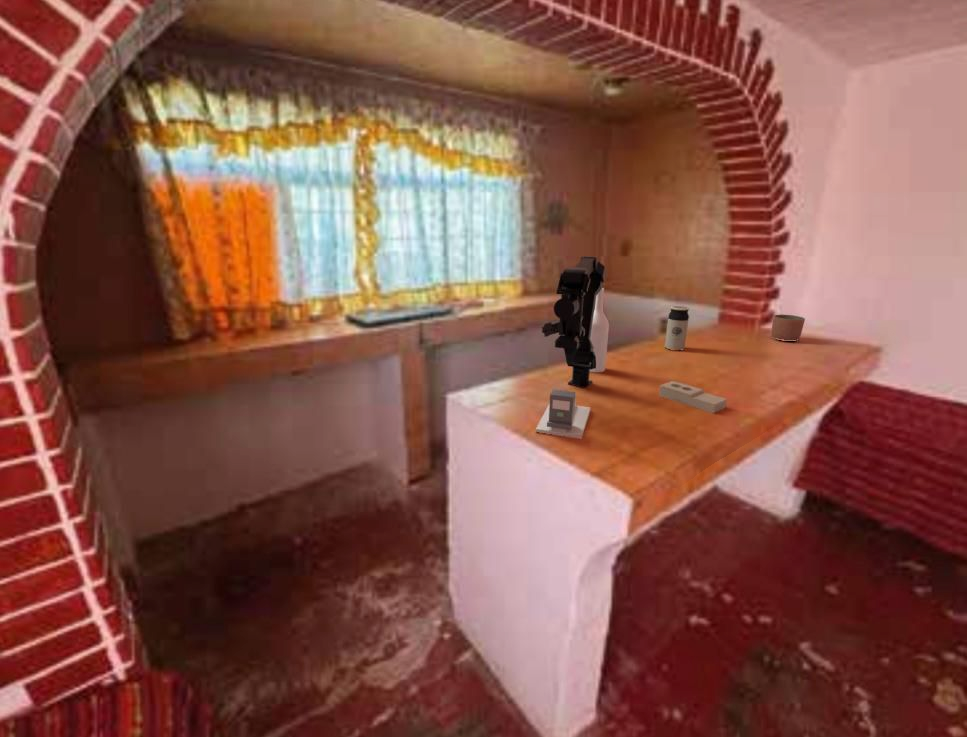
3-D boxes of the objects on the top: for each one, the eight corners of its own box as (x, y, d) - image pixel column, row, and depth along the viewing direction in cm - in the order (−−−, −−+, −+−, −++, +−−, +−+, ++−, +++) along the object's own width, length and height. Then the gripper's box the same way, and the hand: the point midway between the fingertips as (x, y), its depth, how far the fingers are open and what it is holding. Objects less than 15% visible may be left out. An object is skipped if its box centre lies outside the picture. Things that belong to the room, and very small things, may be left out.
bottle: (578, 367, 183) (584, 287, 174) (596, 365, 186) (603, 286, 176) (590, 373, 176) (597, 290, 166) (609, 371, 178) (617, 289, 169)
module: (551, 418, 132) (552, 389, 129) (573, 421, 130) (575, 392, 127) (548, 425, 128) (549, 395, 125) (570, 428, 126) (573, 398, 123)
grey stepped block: (715, 401, 140) (660, 384, 154) (713, 414, 142) (658, 396, 155) (727, 396, 145) (672, 380, 158) (725, 408, 146) (670, 392, 159)
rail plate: (549, 405, 146) (550, 396, 145) (590, 410, 143) (591, 401, 142) (535, 432, 128) (536, 421, 127) (581, 439, 124) (582, 428, 124)
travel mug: (667, 345, 215) (672, 305, 209) (686, 348, 210) (692, 307, 205) (662, 349, 209) (667, 307, 203) (681, 352, 204) (687, 310, 199)
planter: (799, 344, 218) (804, 321, 214) (768, 341, 224) (772, 317, 221) (800, 339, 228) (805, 316, 224) (770, 335, 234) (774, 313, 231)
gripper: (550, 305, 152) (548, 353, 156) (538, 317, 135) (535, 370, 139) (586, 308, 148) (583, 357, 153) (578, 320, 131) (574, 374, 136)
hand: (568, 364), depth 146 cm, fingers closed
